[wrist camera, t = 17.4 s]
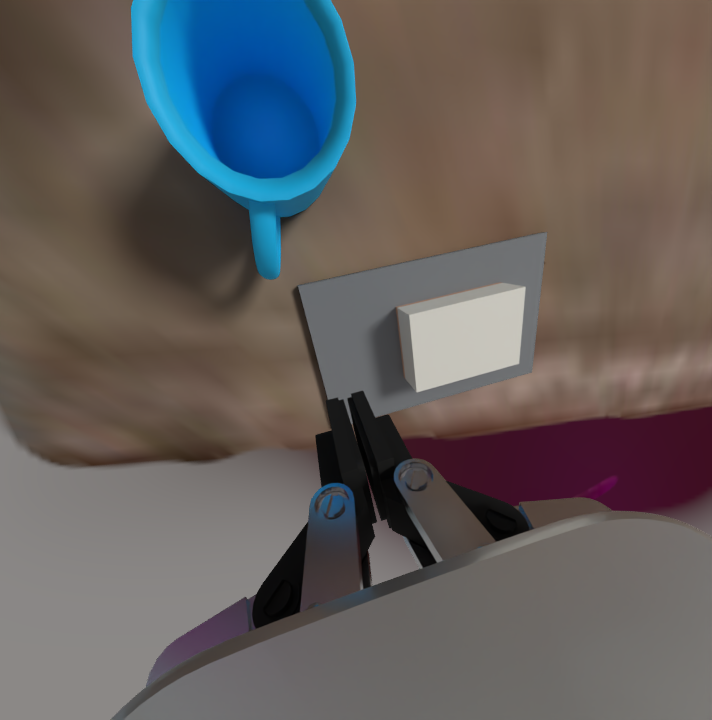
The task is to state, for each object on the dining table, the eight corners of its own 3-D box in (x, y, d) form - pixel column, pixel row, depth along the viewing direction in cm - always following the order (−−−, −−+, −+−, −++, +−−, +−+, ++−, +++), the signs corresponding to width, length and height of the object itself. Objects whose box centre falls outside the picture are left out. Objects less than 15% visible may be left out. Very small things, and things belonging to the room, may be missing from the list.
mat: (297, 285, 21) (298, 286, 21) (541, 232, 24) (547, 232, 24) (334, 424, 27) (335, 428, 27) (527, 369, 30) (531, 372, 30)
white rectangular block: (409, 314, 21) (525, 286, 22) (395, 306, 23) (499, 282, 25) (416, 392, 24) (519, 363, 25) (403, 377, 26) (496, 352, 27)
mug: (191, 49, 15) (101, -127, 8) (333, 81, 17) (364, -39, 10) (215, 270, 20) (171, 284, 13) (326, 276, 22) (344, 293, 14)
